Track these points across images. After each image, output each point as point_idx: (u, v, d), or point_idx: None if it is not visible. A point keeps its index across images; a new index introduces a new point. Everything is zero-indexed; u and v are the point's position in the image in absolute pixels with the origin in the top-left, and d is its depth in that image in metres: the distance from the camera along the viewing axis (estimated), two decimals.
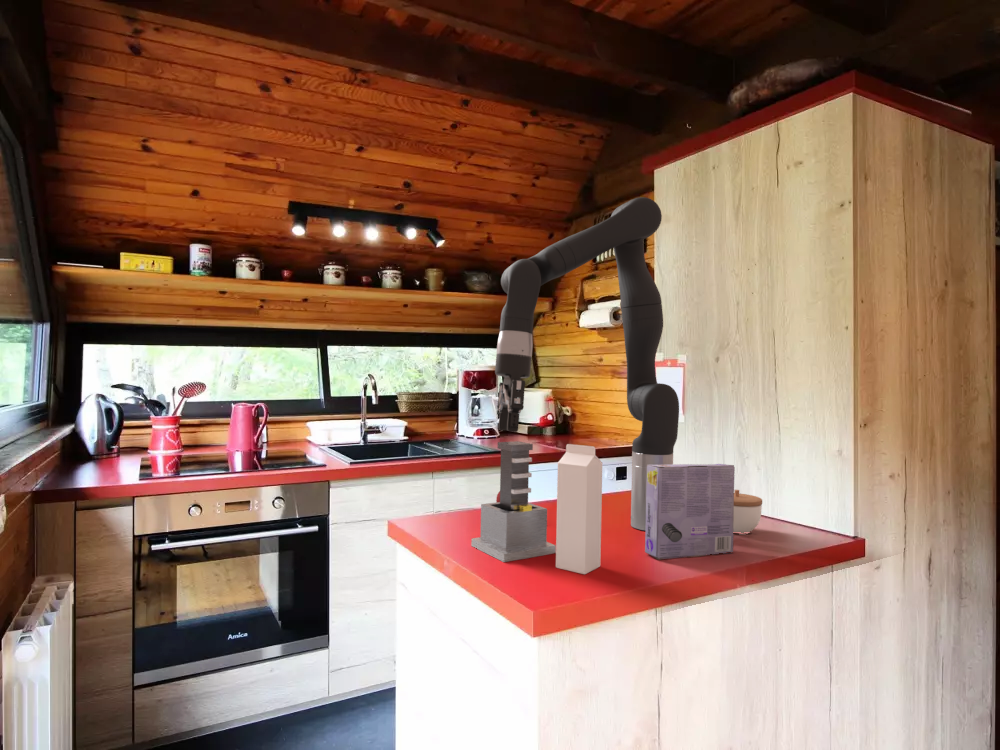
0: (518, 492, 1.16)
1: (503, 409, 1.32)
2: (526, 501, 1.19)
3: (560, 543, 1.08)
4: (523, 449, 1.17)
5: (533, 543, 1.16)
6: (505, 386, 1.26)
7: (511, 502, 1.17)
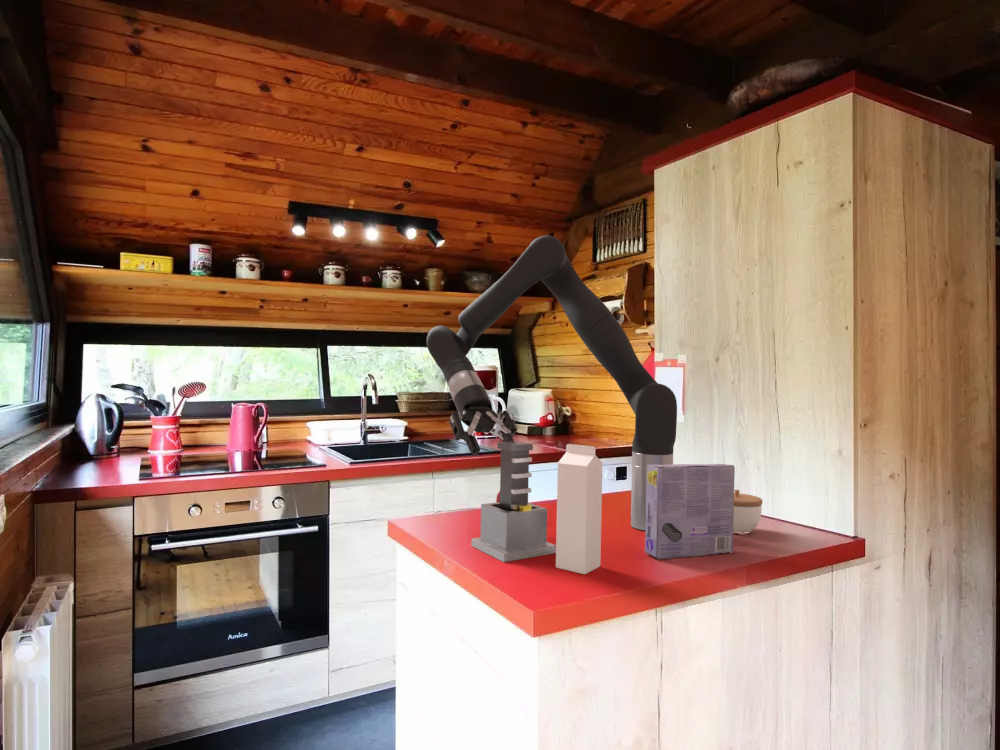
0: (518, 492, 1.16)
1: (503, 436, 1.31)
2: (526, 501, 1.19)
3: (560, 543, 1.08)
4: (523, 449, 1.17)
5: (533, 543, 1.16)
6: None
7: (511, 502, 1.17)
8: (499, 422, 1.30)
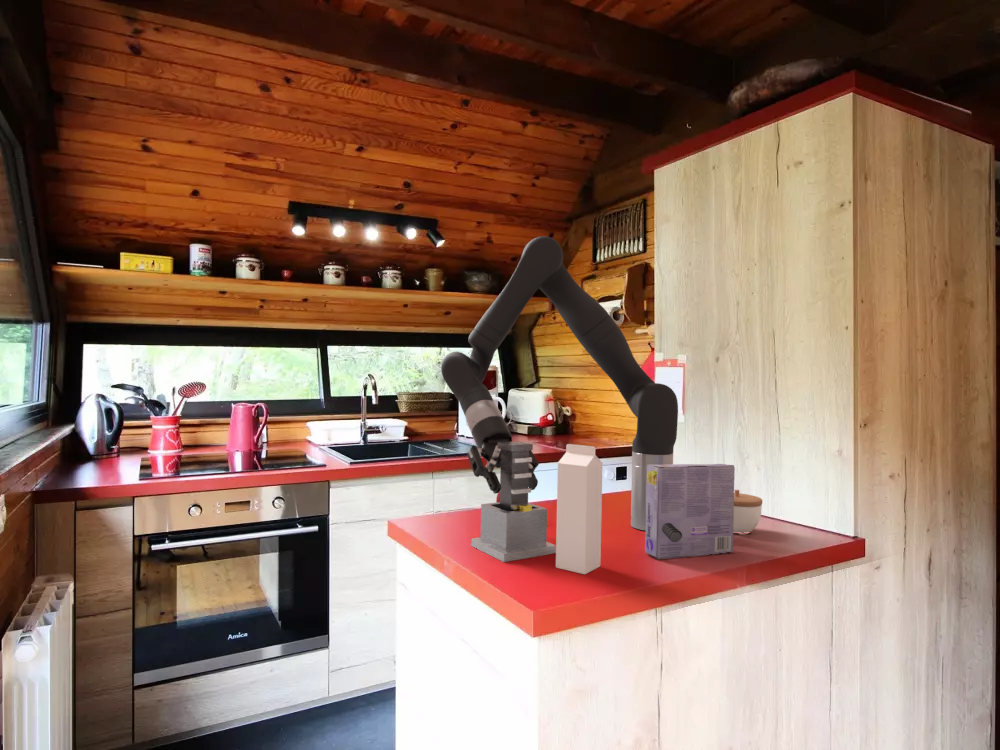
0: (518, 492, 1.16)
1: None
2: (526, 501, 1.19)
3: (560, 543, 1.08)
4: (523, 449, 1.17)
5: (533, 543, 1.16)
6: None
7: (511, 502, 1.17)
8: None
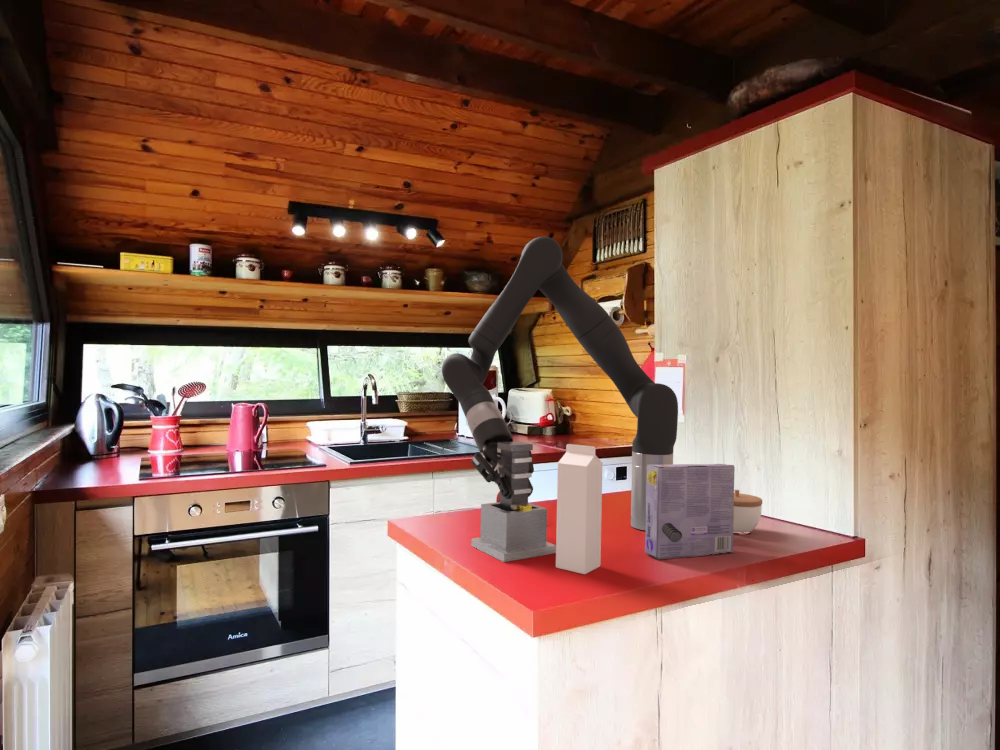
0: (518, 492, 1.16)
1: None
2: (526, 501, 1.19)
3: (560, 543, 1.08)
4: (523, 449, 1.17)
5: (533, 543, 1.16)
6: None
7: (511, 502, 1.17)
8: None
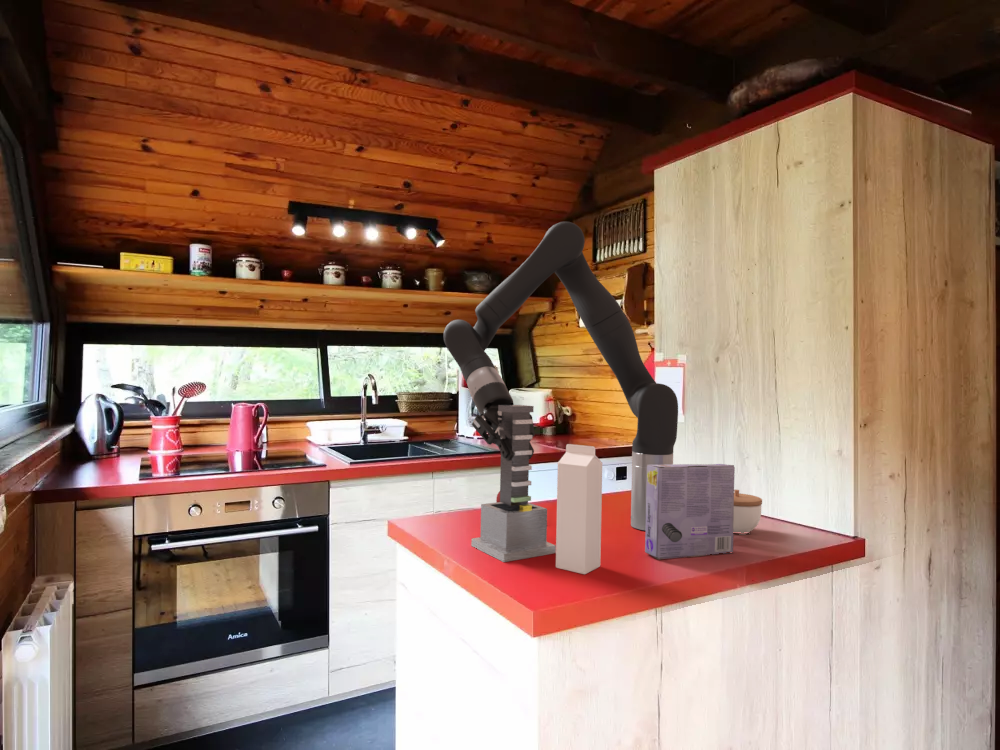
0: (519, 453, 1.16)
1: None
2: (527, 463, 1.19)
3: (560, 543, 1.08)
4: (524, 411, 1.17)
5: (533, 543, 1.16)
6: None
7: (512, 463, 1.17)
8: None
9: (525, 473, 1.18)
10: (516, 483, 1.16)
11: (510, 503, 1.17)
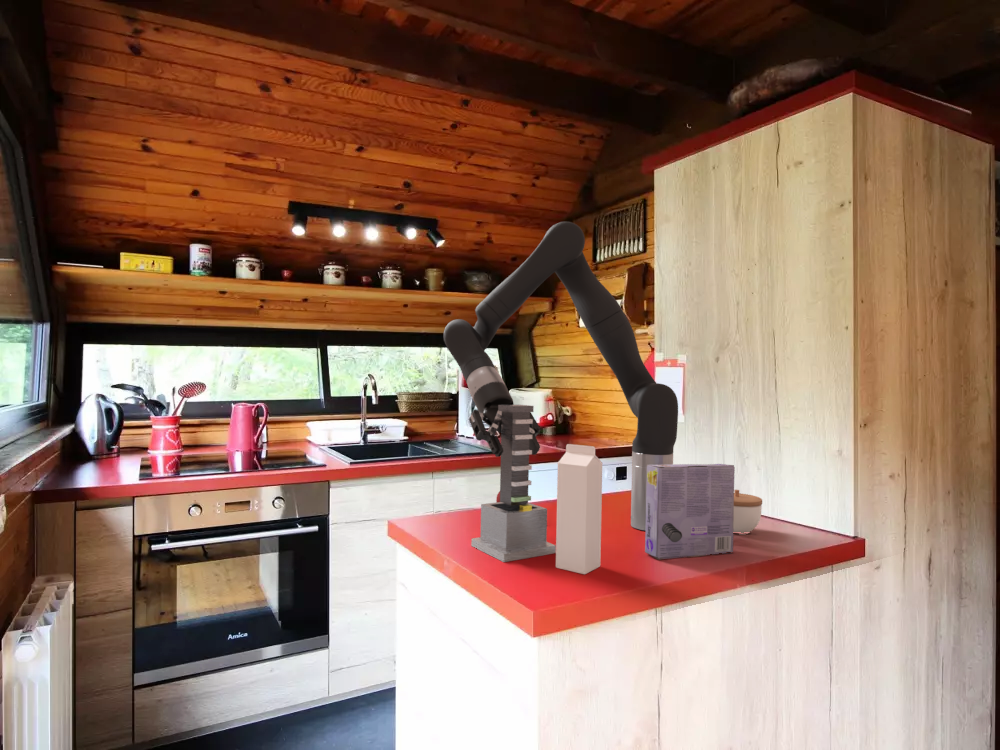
0: (519, 453, 1.16)
1: None
2: (527, 463, 1.19)
3: (560, 543, 1.08)
4: (524, 411, 1.17)
5: (533, 543, 1.16)
6: None
7: (512, 463, 1.17)
8: None
9: (525, 473, 1.18)
10: (516, 483, 1.16)
11: (510, 503, 1.17)
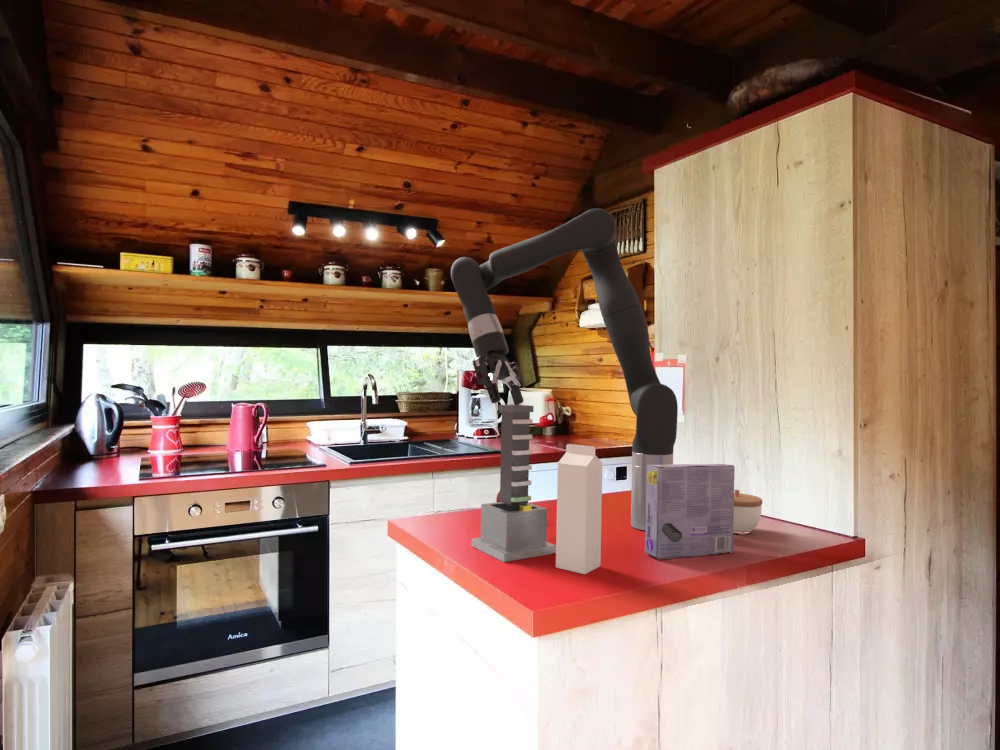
0: (519, 453, 1.16)
1: (511, 386, 1.39)
2: (527, 463, 1.19)
3: (560, 543, 1.08)
4: (524, 411, 1.17)
5: (533, 543, 1.16)
6: None
7: (512, 463, 1.17)
8: (513, 374, 1.37)
9: (525, 473, 1.18)
10: (516, 483, 1.16)
11: (510, 503, 1.17)
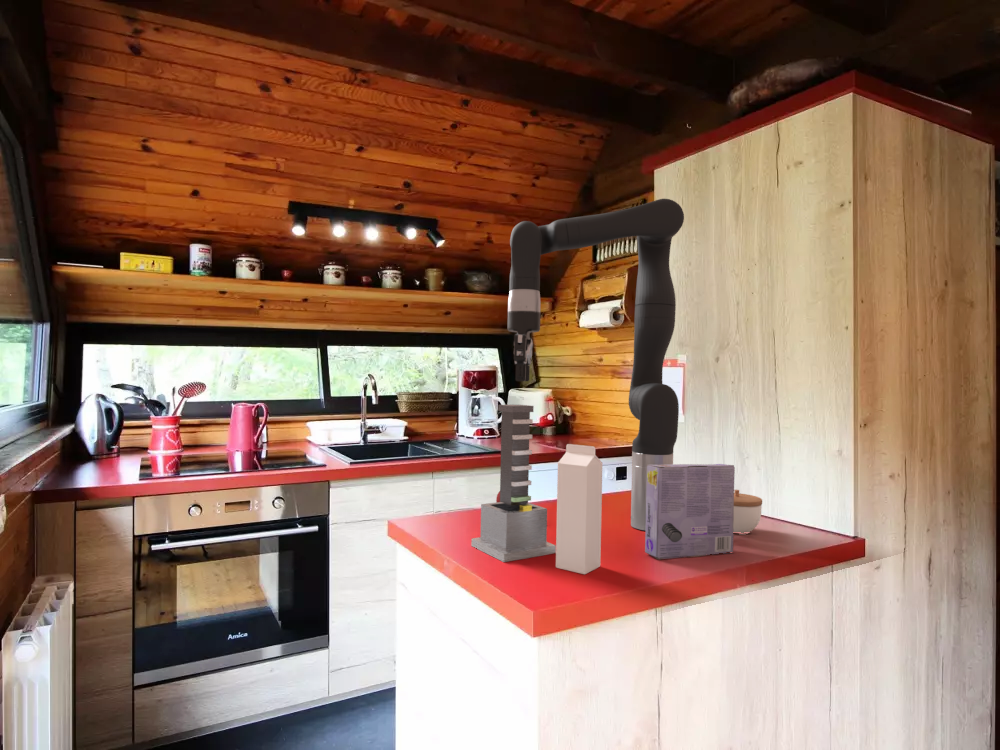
0: (519, 453, 1.16)
1: None
2: (527, 463, 1.19)
3: (560, 543, 1.08)
4: (524, 411, 1.17)
5: (533, 543, 1.16)
6: (515, 341, 1.38)
7: (512, 463, 1.17)
8: (531, 353, 1.42)
9: (525, 473, 1.18)
10: (516, 483, 1.16)
11: (510, 503, 1.17)
